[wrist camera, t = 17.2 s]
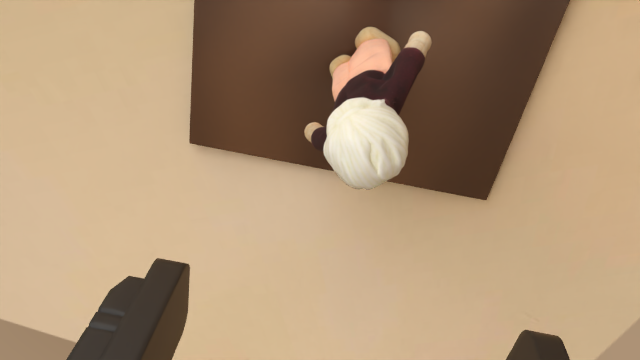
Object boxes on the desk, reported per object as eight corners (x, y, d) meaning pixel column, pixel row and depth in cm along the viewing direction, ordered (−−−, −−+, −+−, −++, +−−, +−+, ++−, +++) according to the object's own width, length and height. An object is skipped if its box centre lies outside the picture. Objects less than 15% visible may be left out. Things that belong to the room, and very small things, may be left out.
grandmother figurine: (358, 123, 32) (350, 256, 21) (306, 90, 31) (270, 209, 20) (439, 20, 28) (481, 116, 17) (383, -22, 27) (390, 52, 16)
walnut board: (591, -63, 26) (595, -61, 25) (484, 195, 34) (486, 200, 34) (202, -140, 26) (199, -140, 25) (191, 139, 34) (189, 143, 34)
